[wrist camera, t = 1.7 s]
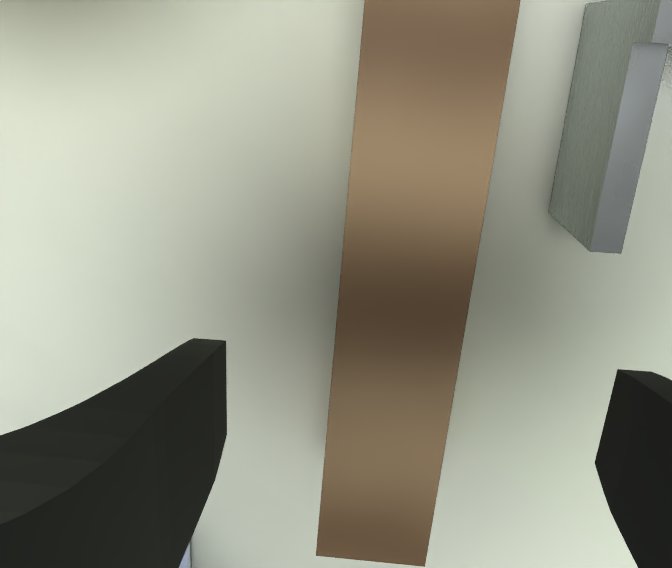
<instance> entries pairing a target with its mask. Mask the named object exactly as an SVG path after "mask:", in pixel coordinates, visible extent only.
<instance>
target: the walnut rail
mask: <svg viewBox="0 0 672 568" xmlns="http://www.w3.org/2000/svg"><path fill="white" fill-rule="evenodd" d="M519 6H520V0H365V3H364V14H363V26H362V37H361V49H360V60H359V71H358V83H357V94H356V106H355V117H354V128H353V140H352V151H351V162H350V174H349V185H348V197H347V208H346V219H345V231H344V242H343V253H342V265H341V276H340V288H339V299H338V310H337V322H336V333H335V345H334V356H333V367H332V379H331V390H330V401H329V413H328V424H327V436H326V447H325V458H324V470H323V481H322V492H321V504H320V515H319V527H318V538H317V549H316V556H325V557H335V558H345V559H355V560H365V561H375V562H385V563H395V564H405V565H415V566H424V567H425V562H426V556H427V550H428V544H429V538H430V532H431V527H432V521H433V515H434V509H435V503H436V497H437V491H438V485H439V479H440V473H441V467H442V461H443V456H444V450H445V444H446V438H447V432H448V426H449V420H450V414H451V408H452V402H453V396H454V390H455V385H456V379H457V373H458V367H459V361H460V355H461V349H462V343H463V337H464V331H465V325H466V319H467V314H468V308H469V302H470V296H471V290H472V284H473V278H474V272H475V266H476V260H477V254H478V248H479V243H480V237H481V231H482V225H483V219H484V213H485V207H486V201H487V195H488V189H489V183H490V177H491V172H492V166H493V160H494V154H495V148H496V142H497V136H498V130H499V124H500V118H501V112H502V106H503V101H504V95H505V89H506V83H507V77H508V71H509V65H510V59H511V53H512V47H513V41H514V35H515V30H516V24H517V18H518V12H519Z"/></svg>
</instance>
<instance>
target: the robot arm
mask: <svg viewBox="0 0 672 568" xmlns="http://www.w3.org/2000/svg"><path fill="white" fill-rule="evenodd" d="M226 435H227V400H226V341H223V340H210V339H196V338H193V339H191V340H189V341H187V342H185V343H184V344H182V345H180V346H178V347H177V348H175V349H174V350H172V351H170V352H169V353H167V354H165V355H164V356H162V357H161V358H159V359H157V360H156V361H154V362H153V363H151V364H149V365H148V366H146V367H144V368H143V369H141V370H139V371H138V372H136V373H134V374H133V375H131V376H129V377H128V378H126V379H124V380H122V381H121V382H119V383H117V384H115V385H113V386H111V387H109V388H108V389H106V390H104V391H102V392H100V393H98V394H96V395H95V396H93V397H91V398H89V399H87V400H85V401H83V402H81V403H79V404H77V405H75V406H73V407H71V408H69V409H67V410H64V411H62V412H60V413H58V414H55V415H53V416H51V417H48V418H46V419H44V420H41V421H39V422H36V423H34V424H32V425H29V426H26V427H24V428H21V429H18V430H15V431H12V432H9V433H6V434H4V435H1V436H0V568H191V564H190V540H191V537H192V535H193V533H194V530H195V528H196V525H197V523H198V521H199V518H200V516H201V513H202V511H203V508H204V506H205V503H206V501H207V499H208V496H209V494H210V491H211V489H212V486H213V484H214V481H215V478H216V474H217V471H218V467H219V463H220V459H221V455H222V451H223V447H224V443H225V439H226ZM595 465H596V468H597V472H598V475H599V478H600V482H601V485H602V488H603V491H604V494H605V497H606V500H607V503H608V506H609V508H610V511H611V513H612V515H613V518H614V520H615V522H616V524H617V526H618V528H619V530H620V532H621V534H622V536H623V538H624V540H625V542H626V544H627V546H628V548H629V550H630V552H631V554H632V556H633V558H634V560H635V562H636V564H637V566H638V568H672V380H670V379H668V378H665V377H663V376H661V375H658V374H656V373H653V372H647V371H633V370H619V369H618V370H617V374H616V378H615V382H614V386H613V390H612V395H611V399H610V403H609V407H608V411H607V415H606V419H605V423H604V427H603V431H602V435H601V440H600V444H599V448H598V452H597V456H596V460H595Z"/></svg>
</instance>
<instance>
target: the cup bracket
mask: <svg viewBox="0 0 672 568" xmlns="http://www.w3.org/2000/svg"><path fill="white" fill-rule="evenodd" d="M668 47H670V48H672V0H607V1H601V2H595V3H589V4H586V8H585V13H584V19H583V24H582V30H581V35H580V41H579V46H578V52H577V57H576V63H575V68H574V74H573V80H572V85H571V91H570V96H569V102H568V107H567V113H566V118H565V124H564V129H563V135H562V140H561V146H560V151H559V157H558V162H557V168H556V173H555V179H554V184H553V190H552V195H551V201H550V206H549V213H550V214H551V215H552V216H553V217H554V218H555V219H556V220H557V221H558V222H559V223H560V224H561V225H562V226H564V227H565V228H566V229H567V230H568V231H569V232H570V233H571V234H572V235H573V236H574V237H575V238H576V239H577V240H578V241H579V242H580V243H581V244H582V245H583V246H584V247H585V248H586V249H587V250H589V251H590V252H605V253H619V254H621V252H622V248H623V243H624V239H625V235H626V230H627V226H628V221H629V217H630V213H631V208H632V204H633V200H634V195H635V191H636V186H637V182H638V178H639V173H640V169H641V165H642V160H643V156H644V152H645V147H646V143H647V138H648V134H649V130H650V125H651V121H652V117H653V112H654V108H655V104H656V99H657V95H658V90H659V86H660V82H661V77H662V73H663V69H664V64H665V60H666V56H667V51H668Z"/></svg>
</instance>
